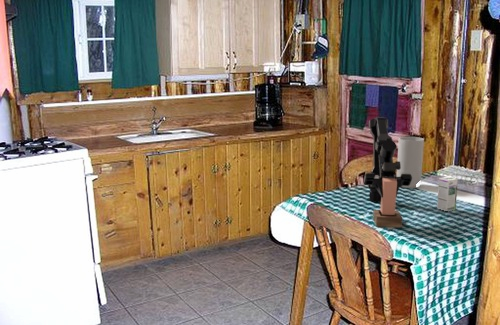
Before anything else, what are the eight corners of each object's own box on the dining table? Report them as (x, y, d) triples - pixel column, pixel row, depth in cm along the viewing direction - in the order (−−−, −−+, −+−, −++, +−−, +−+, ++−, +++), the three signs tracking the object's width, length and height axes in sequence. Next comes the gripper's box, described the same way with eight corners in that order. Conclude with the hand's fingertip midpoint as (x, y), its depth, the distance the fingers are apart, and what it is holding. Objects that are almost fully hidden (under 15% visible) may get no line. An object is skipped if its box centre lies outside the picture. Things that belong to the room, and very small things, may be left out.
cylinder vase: (424, 184, 274) (427, 138, 269) (415, 189, 265) (418, 141, 259) (401, 181, 282) (404, 135, 277) (392, 186, 272) (394, 139, 267)
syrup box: (446, 212, 228) (449, 180, 225) (436, 208, 233) (438, 177, 230) (455, 210, 231) (458, 178, 228) (445, 206, 236) (447, 175, 233)
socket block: (373, 218, 219) (373, 209, 218) (397, 219, 218) (397, 210, 217) (376, 226, 210) (376, 217, 209) (401, 227, 209) (402, 217, 208)
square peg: (380, 210, 216) (382, 178, 213) (392, 211, 215) (394, 178, 212) (382, 214, 211) (384, 181, 208) (394, 214, 210) (397, 181, 207)
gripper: (365, 153, 213) (368, 186, 204) (412, 154, 211) (416, 187, 203) (362, 168, 222) (364, 200, 214) (407, 168, 220) (411, 201, 212)
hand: (389, 197), depth 210 cm, fingers closed on square peg, 5 cm apart
